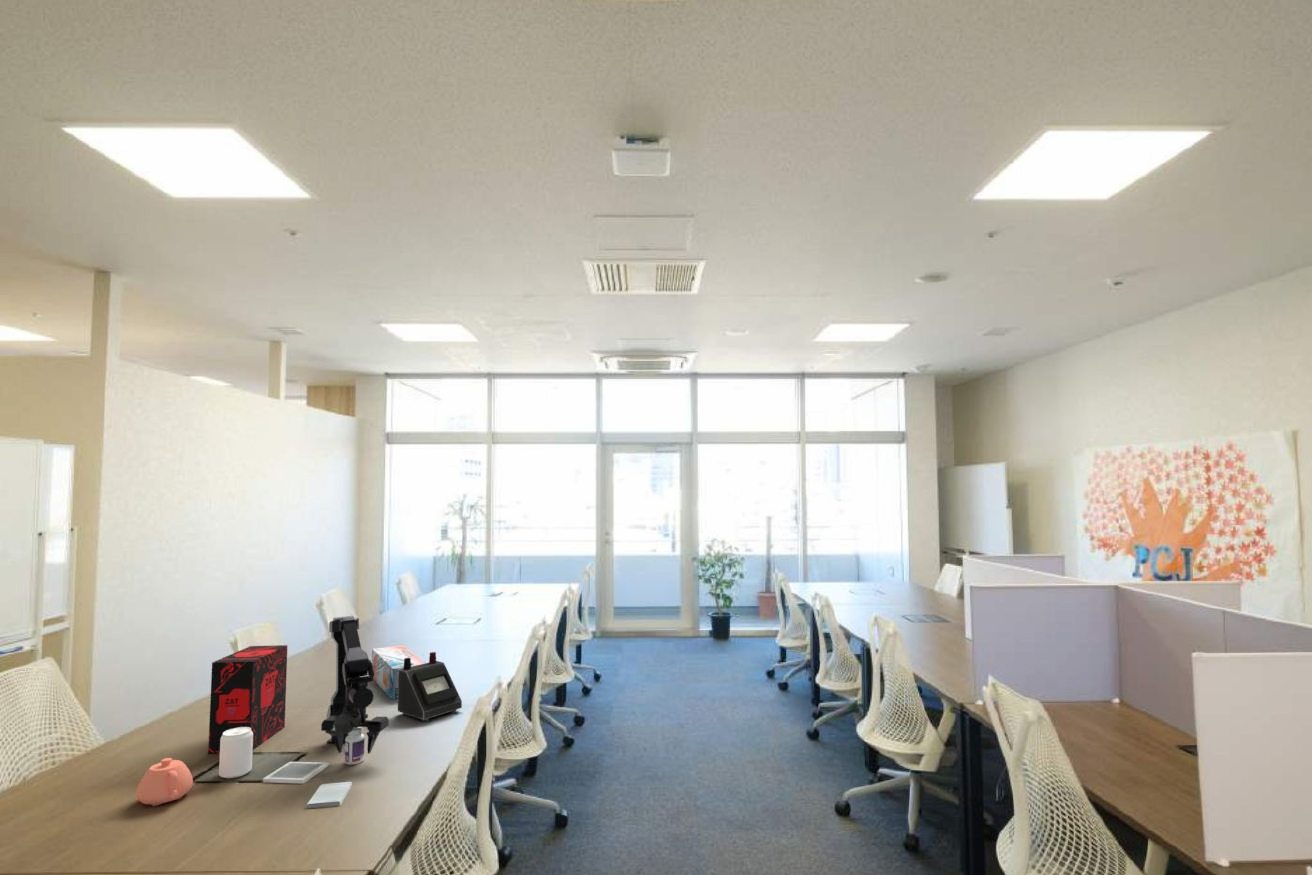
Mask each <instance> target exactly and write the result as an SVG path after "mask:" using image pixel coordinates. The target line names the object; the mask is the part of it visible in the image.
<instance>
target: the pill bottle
mask: <svg viewBox="0 0 1312 875" xmlns="http://www.w3.org/2000/svg"><path fill="white" fill-rule="evenodd" d="M348 735H349V736H347V737H346V739H345V743H344V763H345V764H346V765H348V766H349V765H357V764H360V763H362V762H364V761H365V740H366V739H365V734H363V727H358V728H353V729H352V731H351V732H350V733H348Z"/></svg>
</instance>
